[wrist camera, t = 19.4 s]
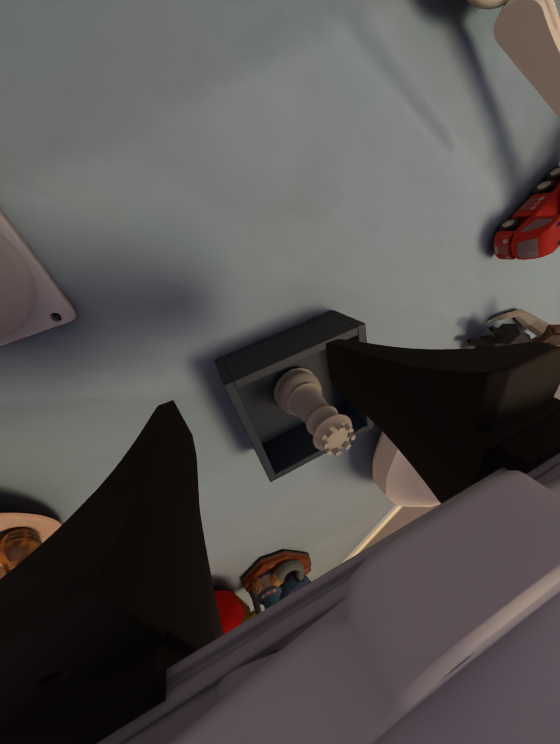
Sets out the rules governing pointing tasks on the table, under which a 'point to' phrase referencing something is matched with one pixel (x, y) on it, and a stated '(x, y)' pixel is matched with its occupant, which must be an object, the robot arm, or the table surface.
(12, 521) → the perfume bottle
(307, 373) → the rook chess piece
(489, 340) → the toy
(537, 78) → the knife
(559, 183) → the toy fire truck
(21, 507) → the table surface
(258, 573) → the model
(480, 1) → the saucer
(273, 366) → the bin
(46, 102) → the table surface
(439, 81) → the table surface
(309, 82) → the table surface
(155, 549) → the robot arm
